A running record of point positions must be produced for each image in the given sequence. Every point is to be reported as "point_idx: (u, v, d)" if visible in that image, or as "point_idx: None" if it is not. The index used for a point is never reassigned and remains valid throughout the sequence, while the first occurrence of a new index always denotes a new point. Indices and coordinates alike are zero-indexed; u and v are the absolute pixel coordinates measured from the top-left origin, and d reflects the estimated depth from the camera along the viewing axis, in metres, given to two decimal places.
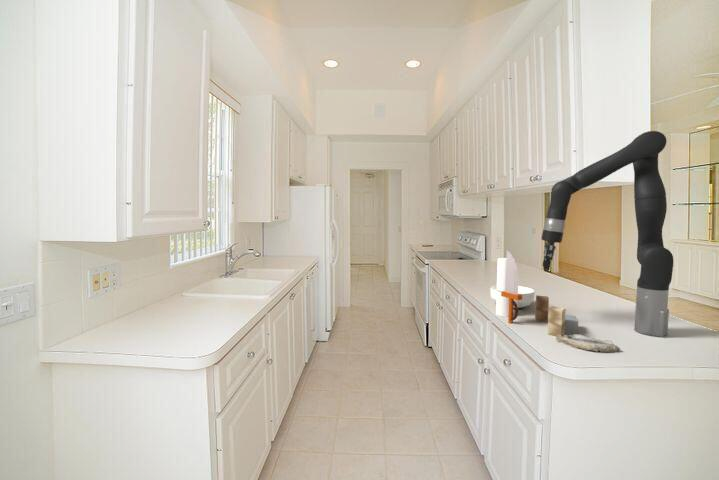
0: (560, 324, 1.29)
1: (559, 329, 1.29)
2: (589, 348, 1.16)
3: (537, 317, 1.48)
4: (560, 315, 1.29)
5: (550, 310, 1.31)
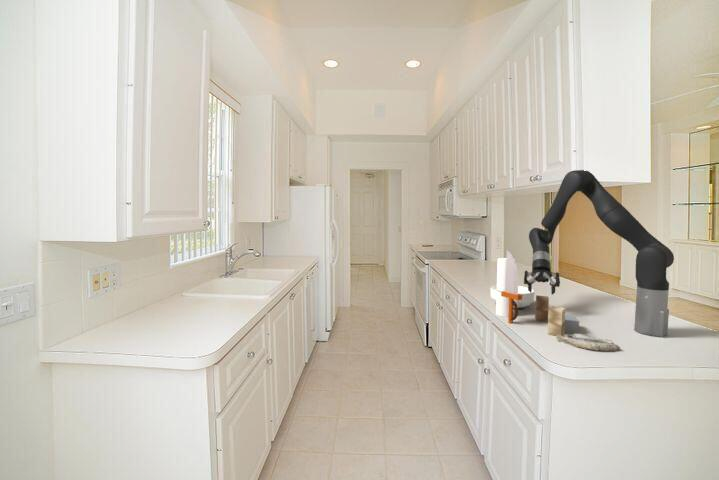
0: (560, 324, 1.29)
1: (559, 329, 1.29)
2: (590, 347, 1.17)
3: (537, 317, 1.48)
4: (560, 315, 1.29)
5: (550, 310, 1.31)
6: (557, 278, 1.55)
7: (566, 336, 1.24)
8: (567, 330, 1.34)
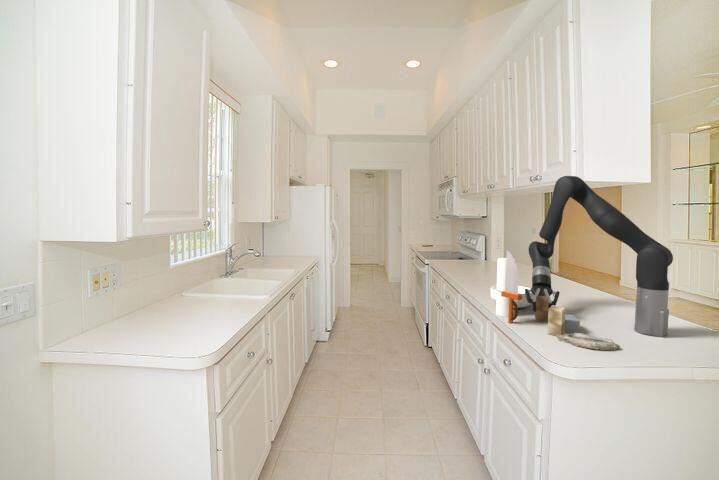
0: (560, 324, 1.29)
1: (559, 329, 1.29)
2: (590, 346, 1.17)
3: (537, 317, 1.48)
4: (560, 315, 1.29)
5: (550, 310, 1.31)
6: (555, 297, 1.48)
7: (566, 335, 1.25)
8: (568, 330, 1.34)
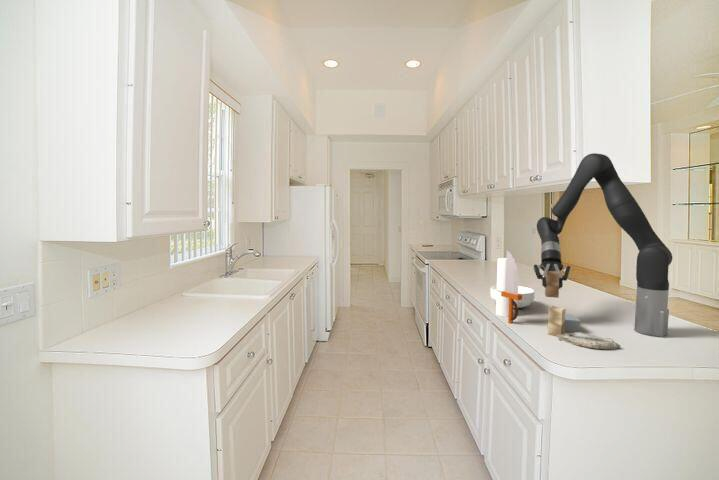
0: (560, 324, 1.29)
1: (559, 329, 1.29)
2: (590, 346, 1.18)
3: (547, 293, 1.43)
4: (560, 315, 1.29)
5: (550, 310, 1.31)
6: (566, 271, 1.43)
7: (567, 335, 1.25)
8: (569, 330, 1.34)
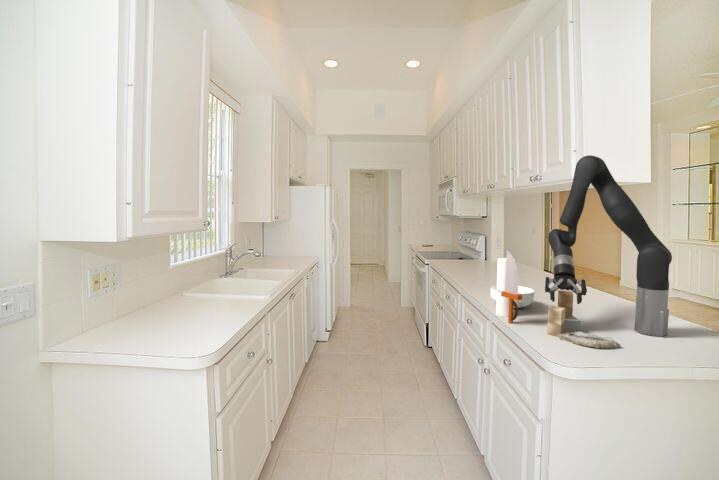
0: (559, 324, 1.29)
1: (558, 329, 1.29)
2: (591, 345, 1.19)
3: None
4: (559, 315, 1.29)
5: (550, 310, 1.31)
6: (583, 285, 1.37)
7: (567, 334, 1.26)
8: (569, 330, 1.34)
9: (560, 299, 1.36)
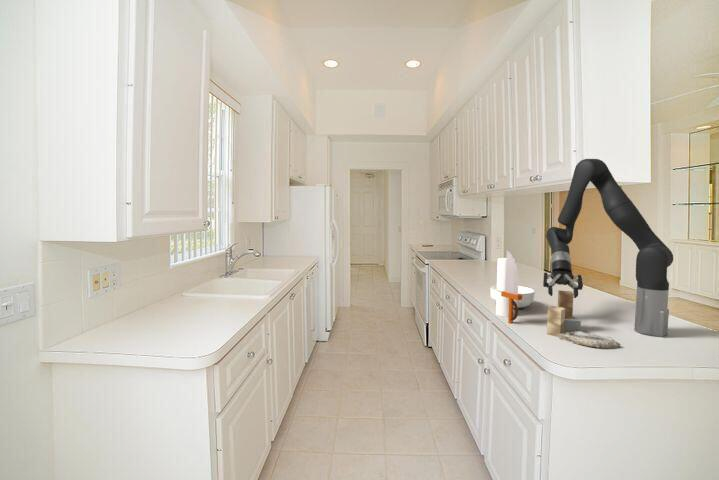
0: (559, 324, 1.29)
1: (558, 329, 1.29)
2: (591, 344, 1.19)
3: None
4: (559, 315, 1.29)
5: (549, 310, 1.31)
6: (580, 280, 1.44)
7: (567, 334, 1.26)
8: (569, 330, 1.34)
9: (560, 299, 1.36)
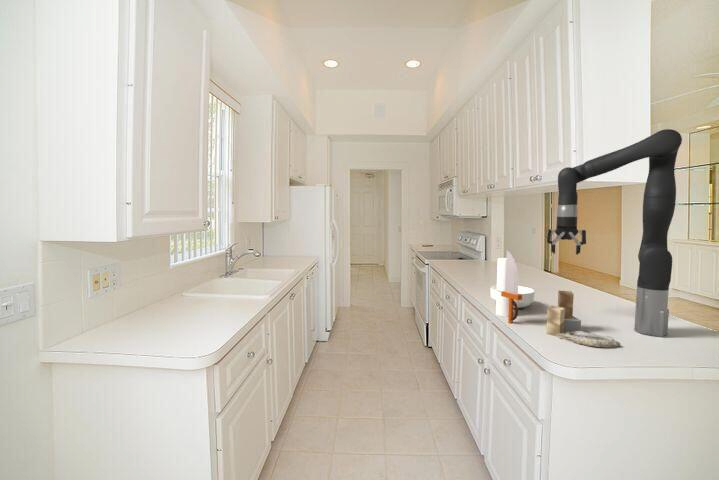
0: (558, 324, 1.29)
1: (557, 329, 1.29)
2: (591, 344, 1.19)
3: None
4: (558, 315, 1.29)
5: (549, 310, 1.31)
6: (583, 237, 1.46)
7: (568, 333, 1.27)
8: (570, 330, 1.34)
9: (560, 299, 1.36)
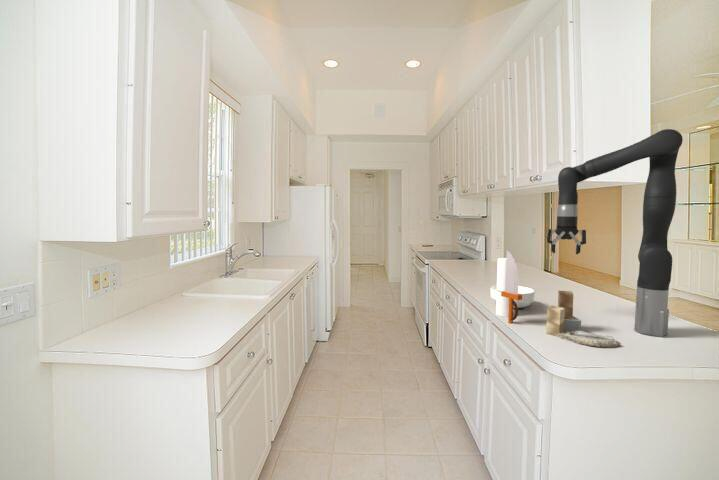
0: (558, 324, 1.29)
1: (557, 329, 1.30)
2: (591, 344, 1.20)
3: None
4: (558, 315, 1.29)
5: (549, 309, 1.32)
6: (583, 237, 1.45)
7: (568, 333, 1.27)
8: (570, 330, 1.34)
9: (560, 299, 1.36)
